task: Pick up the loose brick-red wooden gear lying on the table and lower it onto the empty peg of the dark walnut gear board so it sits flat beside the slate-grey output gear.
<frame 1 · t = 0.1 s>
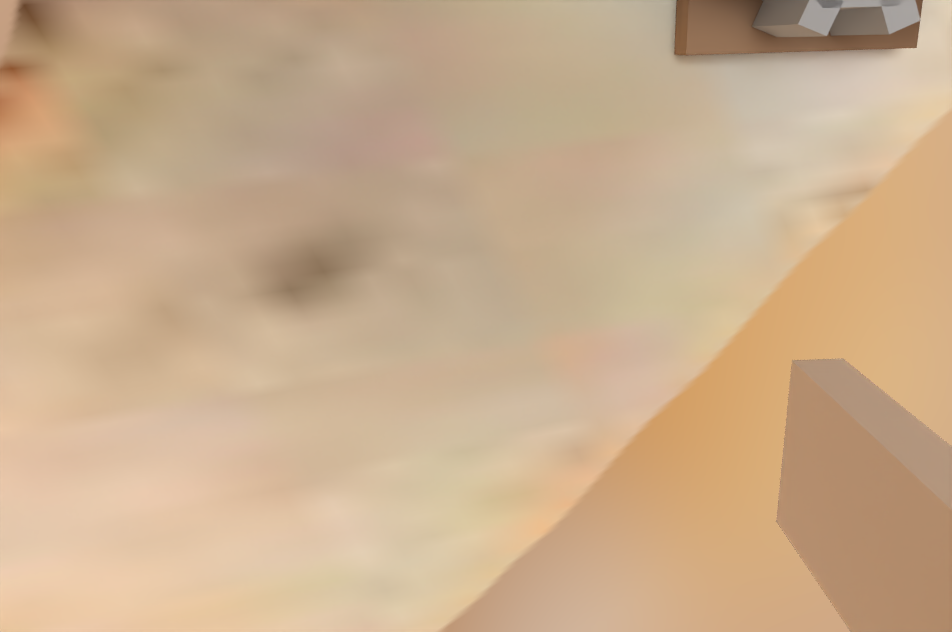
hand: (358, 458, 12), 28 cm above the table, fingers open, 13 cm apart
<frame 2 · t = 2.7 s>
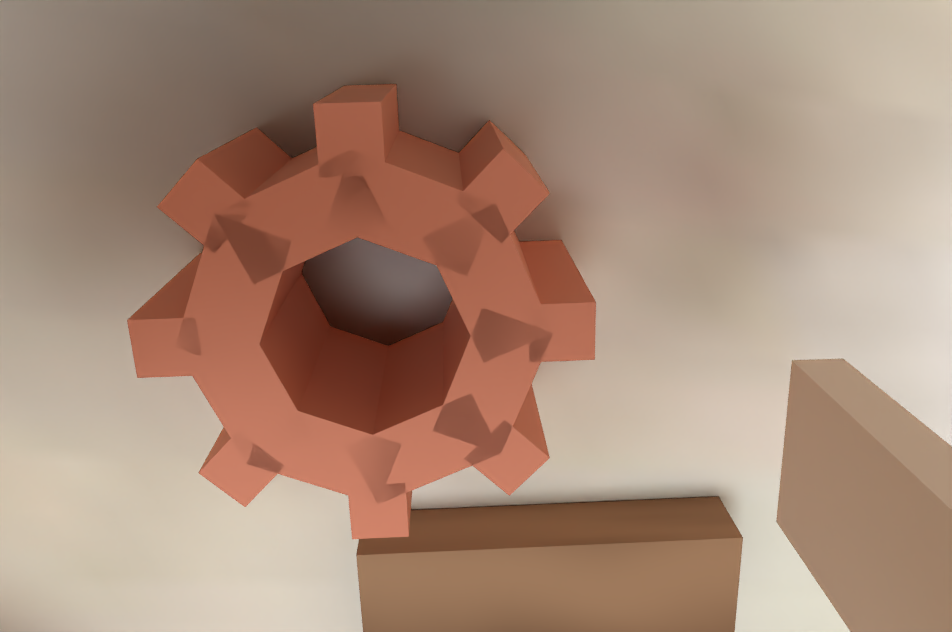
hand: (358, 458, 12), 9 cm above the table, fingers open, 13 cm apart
red gear: (383, 269, 21), on the table
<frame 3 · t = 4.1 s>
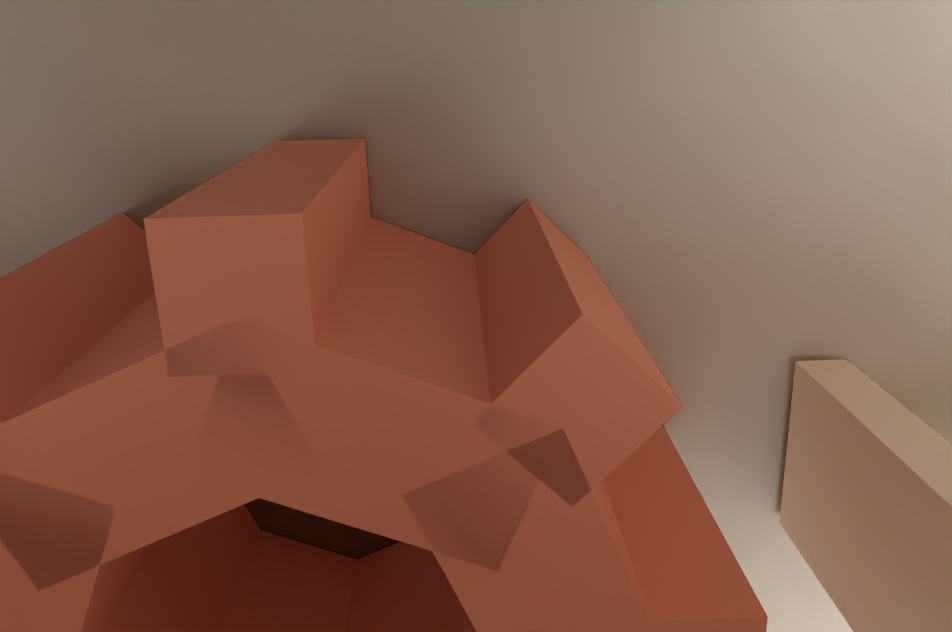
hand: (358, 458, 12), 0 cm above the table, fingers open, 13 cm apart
red gear: (346, 442, 12), on the table
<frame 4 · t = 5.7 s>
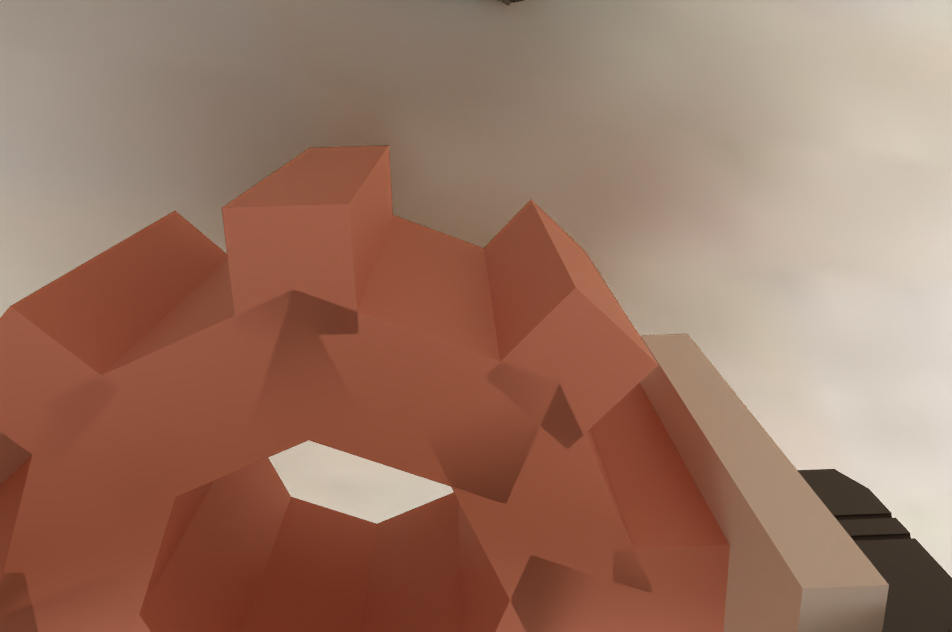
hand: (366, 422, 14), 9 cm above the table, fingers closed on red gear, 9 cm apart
red gear: (369, 417, 14), point 9 cm above the table, touching gripper
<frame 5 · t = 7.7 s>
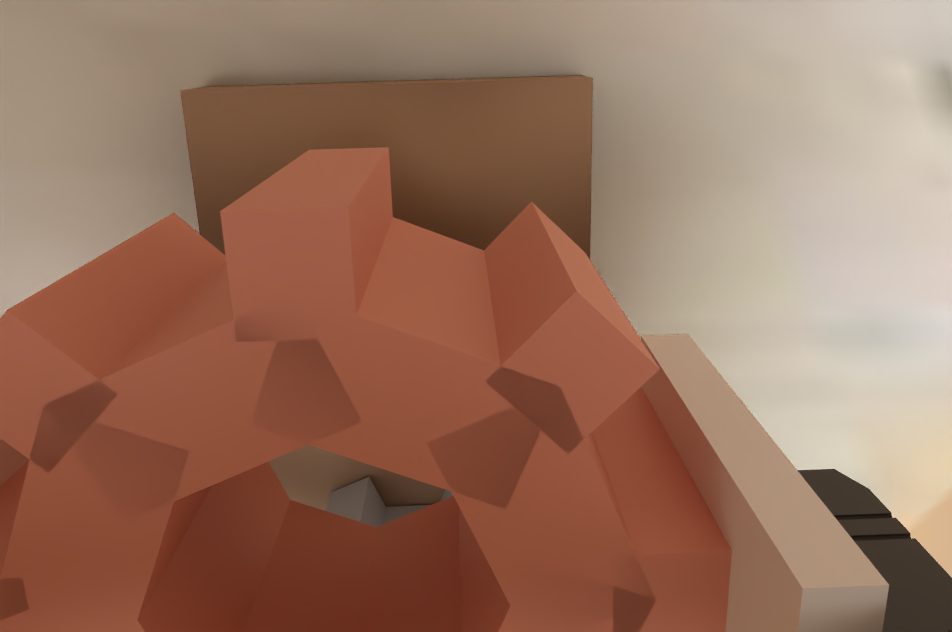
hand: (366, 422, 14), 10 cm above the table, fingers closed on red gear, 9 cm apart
gear board: (412, 422, 25), on the table
red gear: (369, 420, 14), point 10 cm above the table, touching gripper
when the fingers open (3 cm above the table, at t = 10.1 s): red gear drops 1 cm, resting on gear board.
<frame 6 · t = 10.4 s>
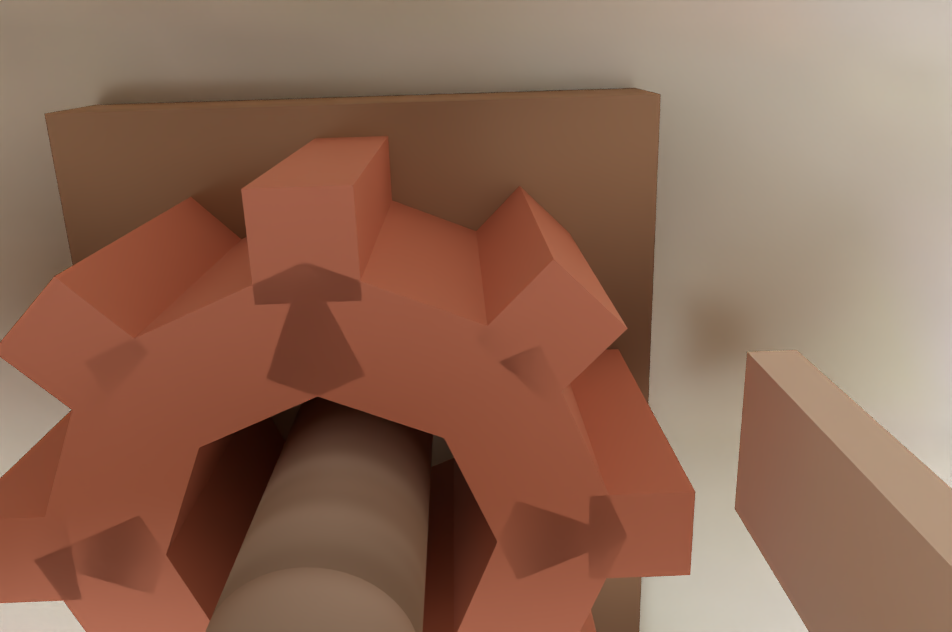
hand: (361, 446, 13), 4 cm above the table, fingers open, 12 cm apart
gear board: (397, 558, 19), on the table
red gear: (370, 389, 15), point 2 cm above the table, touching gear board
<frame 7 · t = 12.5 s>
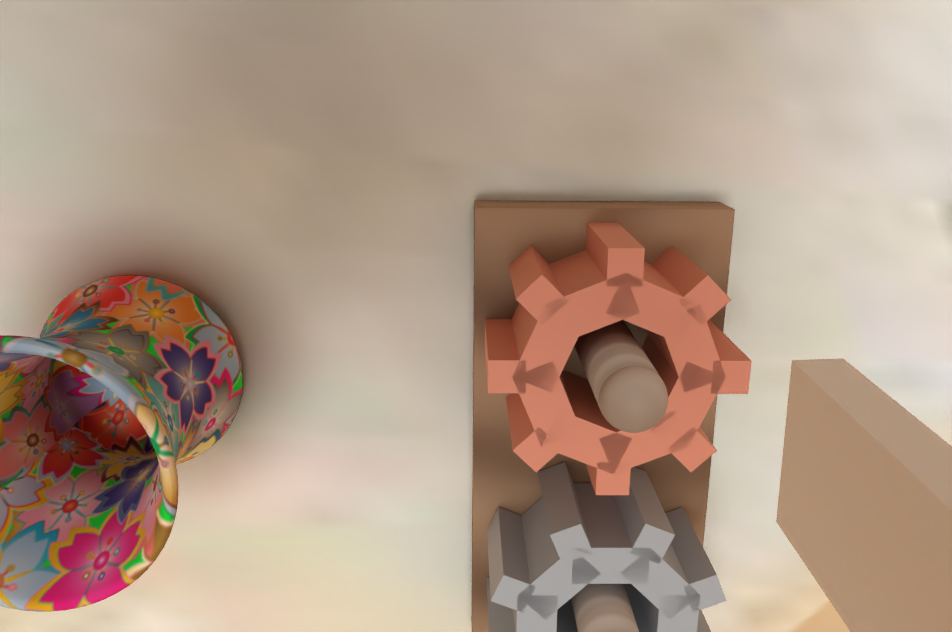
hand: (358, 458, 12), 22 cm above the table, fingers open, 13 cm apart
output gear: (596, 588, 34), point 5 cm above the table, hinge at 0.0°
gear board: (586, 427, 37), on the table
mug: (127, 382, 36), on the table
red gear: (596, 333, 33), point 2 cm above the table, touching gear board
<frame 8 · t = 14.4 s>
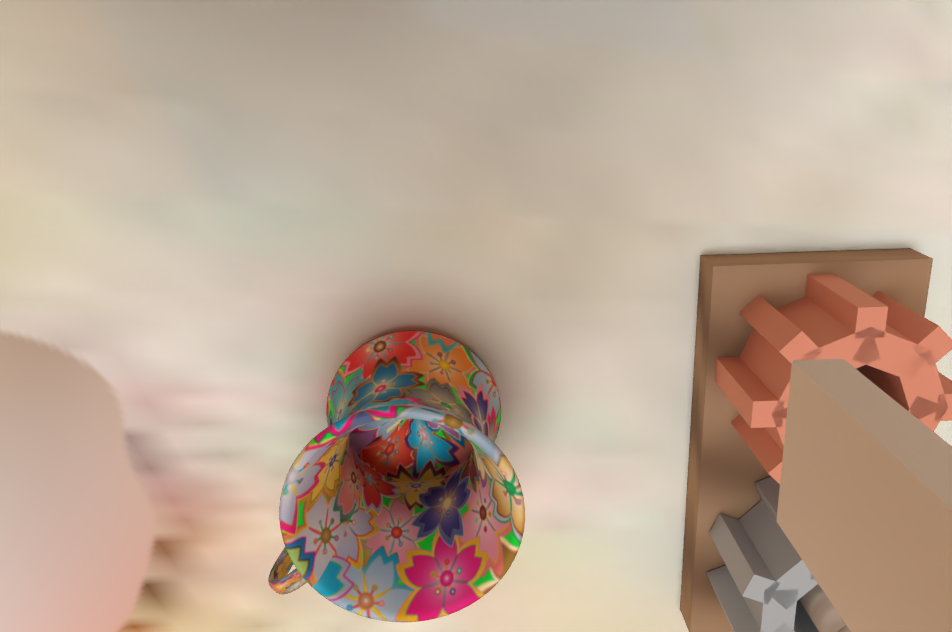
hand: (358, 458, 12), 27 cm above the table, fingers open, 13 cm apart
output gear: (814, 579, 40), point 5 cm above the table, hinge at 0.0°
gear board: (786, 441, 42), on the table
mug: (394, 418, 42), on the table
red gear: (810, 366, 39), point 2 cm above the table, touching gear board
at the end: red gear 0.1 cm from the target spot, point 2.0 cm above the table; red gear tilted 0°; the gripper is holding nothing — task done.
